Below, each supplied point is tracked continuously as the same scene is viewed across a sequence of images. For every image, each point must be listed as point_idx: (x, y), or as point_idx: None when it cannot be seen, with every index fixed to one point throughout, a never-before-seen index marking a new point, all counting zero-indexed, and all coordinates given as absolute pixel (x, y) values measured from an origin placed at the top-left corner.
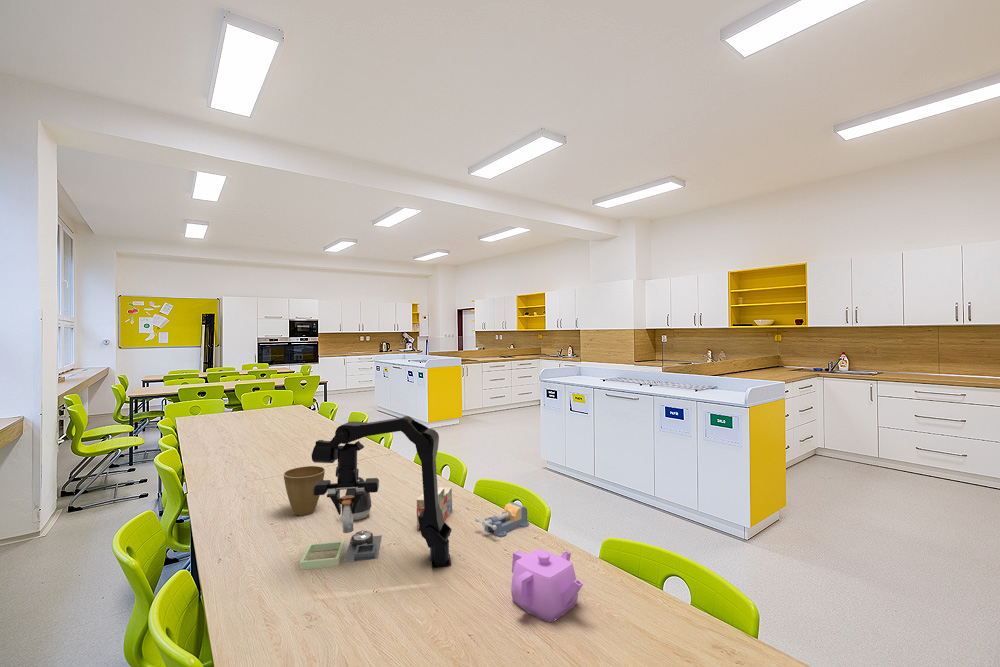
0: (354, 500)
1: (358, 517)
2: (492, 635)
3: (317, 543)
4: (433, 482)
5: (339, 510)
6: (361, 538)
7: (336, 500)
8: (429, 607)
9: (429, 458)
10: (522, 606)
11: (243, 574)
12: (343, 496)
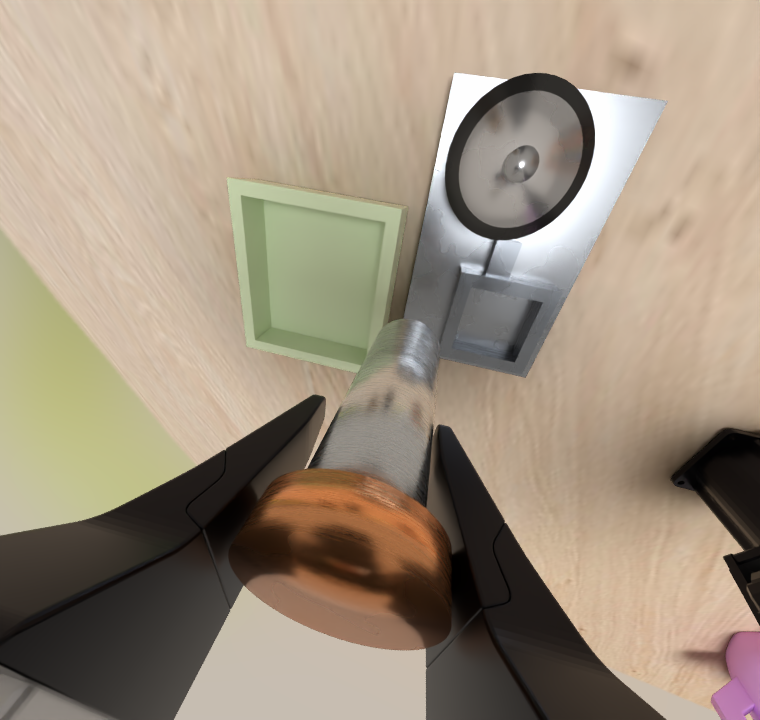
0: (433, 663)
1: None
2: (613, 643)
3: (265, 186)
4: None
5: (302, 464)
6: (498, 226)
7: (213, 621)
8: (558, 572)
9: None
10: (729, 654)
11: (98, 263)
12: (264, 536)
